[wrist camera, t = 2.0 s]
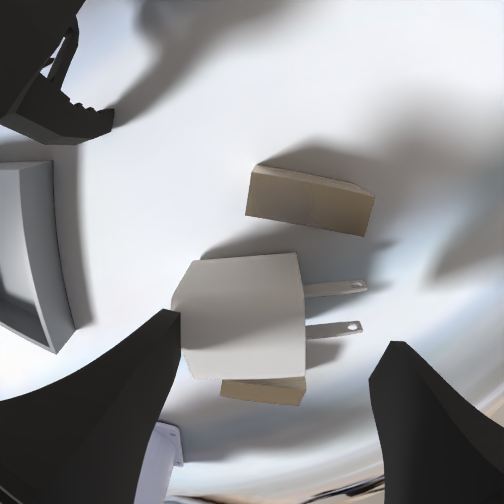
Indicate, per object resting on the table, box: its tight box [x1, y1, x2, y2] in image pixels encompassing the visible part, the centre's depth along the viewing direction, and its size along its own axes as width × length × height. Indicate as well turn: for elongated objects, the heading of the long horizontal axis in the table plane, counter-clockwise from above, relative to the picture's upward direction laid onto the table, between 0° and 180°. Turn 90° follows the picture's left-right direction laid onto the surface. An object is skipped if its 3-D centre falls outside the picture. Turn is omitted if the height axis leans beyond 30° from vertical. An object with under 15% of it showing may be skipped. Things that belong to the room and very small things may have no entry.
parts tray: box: [0, 161, 75, 355], centre depth 12 cm, size 11×9×2 cm
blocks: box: [220, 165, 375, 406], centre depth 11 cm, size 11×4×2 cm, turn 171°
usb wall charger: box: [171, 252, 368, 379], centre depth 11 cm, size 4×7×4 cm, turn 97°
